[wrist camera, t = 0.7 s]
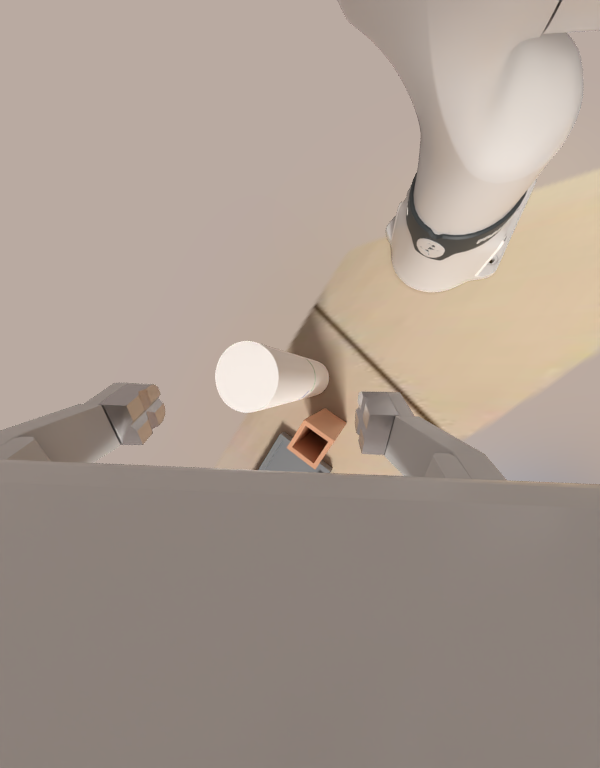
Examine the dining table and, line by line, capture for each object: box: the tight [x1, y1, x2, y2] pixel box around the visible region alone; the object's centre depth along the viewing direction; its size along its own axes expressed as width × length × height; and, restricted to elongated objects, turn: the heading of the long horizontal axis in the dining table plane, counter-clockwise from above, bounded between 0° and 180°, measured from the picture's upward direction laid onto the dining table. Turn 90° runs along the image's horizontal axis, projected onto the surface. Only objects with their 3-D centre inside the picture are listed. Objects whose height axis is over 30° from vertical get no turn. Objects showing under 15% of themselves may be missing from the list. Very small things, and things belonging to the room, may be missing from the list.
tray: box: [258, 432, 332, 473], centre depth 48 cm, size 13×12×2 cm
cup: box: [287, 408, 346, 469], centre depth 40 cm, size 5×5×14 cm
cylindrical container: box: [215, 341, 329, 413], centre depth 36 cm, size 7×7×25 cm
